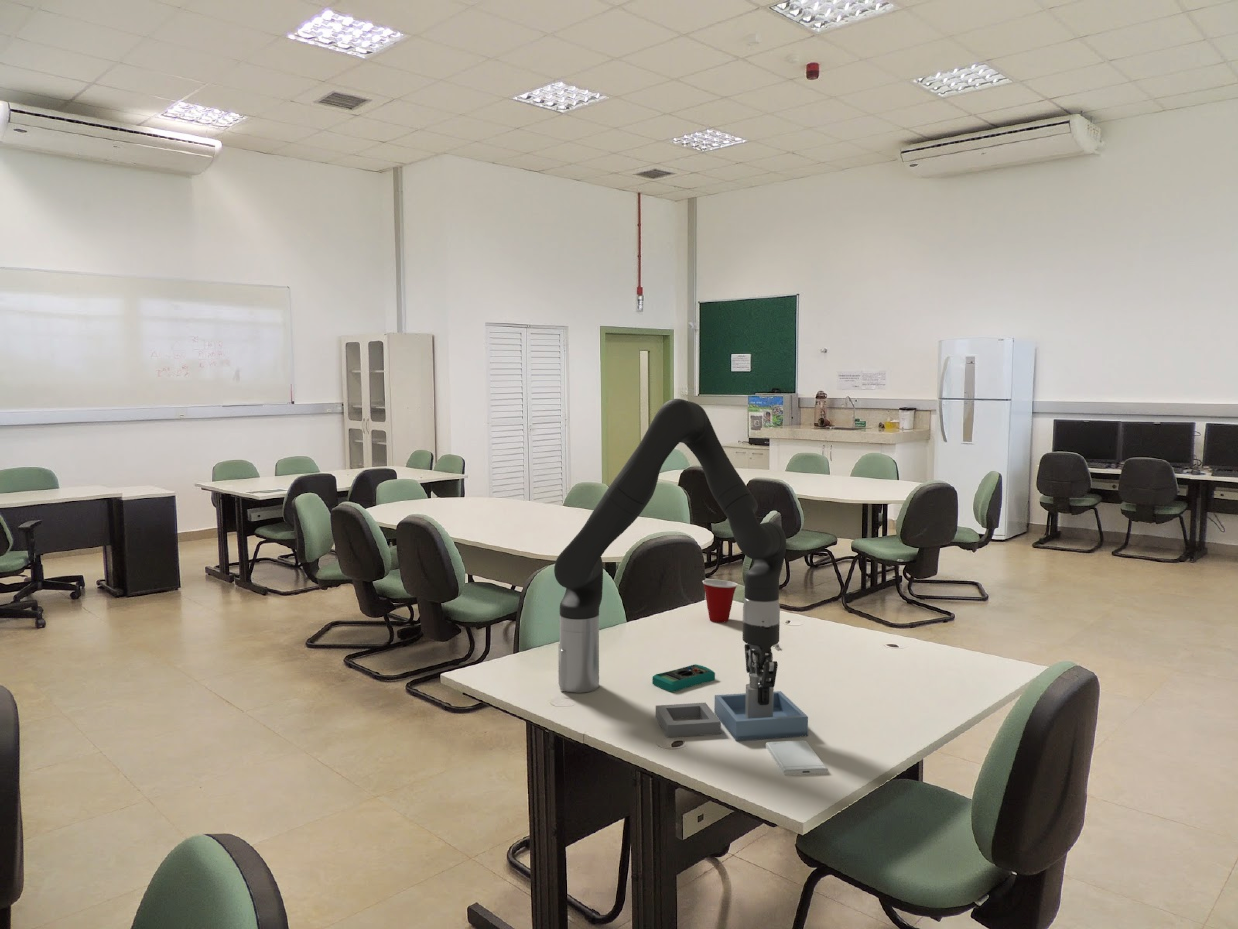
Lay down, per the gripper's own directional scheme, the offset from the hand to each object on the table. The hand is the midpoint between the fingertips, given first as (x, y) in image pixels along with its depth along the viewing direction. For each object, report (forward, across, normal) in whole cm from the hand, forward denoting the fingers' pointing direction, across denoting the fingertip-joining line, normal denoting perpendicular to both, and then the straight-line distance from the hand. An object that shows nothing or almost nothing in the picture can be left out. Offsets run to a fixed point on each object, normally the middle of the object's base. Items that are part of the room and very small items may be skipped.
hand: (759, 700), depth 176 cm
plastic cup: (+5, -81, +16) cm, 83 cm away
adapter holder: (+5, -2, -15) cm, 16 cm away
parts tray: (+5, 0, 0) cm, 5 cm away
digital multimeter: (+6, -28, -9) cm, 30 cm away
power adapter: (+4, 0, 0) cm, 4 cm away
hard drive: (+6, +18, +1) cm, 19 cm away
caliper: (+6, -59, +22) cm, 63 cm away
